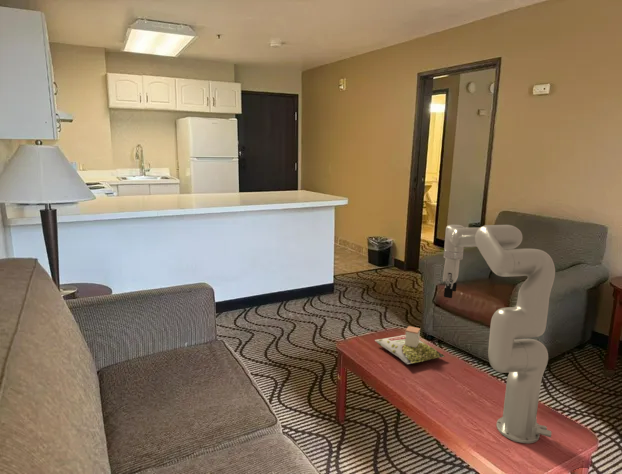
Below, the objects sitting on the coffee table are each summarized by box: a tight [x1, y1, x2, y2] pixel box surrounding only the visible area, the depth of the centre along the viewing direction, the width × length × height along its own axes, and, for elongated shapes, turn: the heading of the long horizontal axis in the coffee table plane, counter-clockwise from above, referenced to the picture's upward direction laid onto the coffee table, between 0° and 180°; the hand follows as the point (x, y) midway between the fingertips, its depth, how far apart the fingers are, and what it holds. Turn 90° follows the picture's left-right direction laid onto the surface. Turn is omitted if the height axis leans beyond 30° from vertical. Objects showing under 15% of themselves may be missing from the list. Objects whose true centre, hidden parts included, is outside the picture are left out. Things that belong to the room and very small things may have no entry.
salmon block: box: [405, 325, 421, 347], centre depth 186 cm, size 5×5×7 cm
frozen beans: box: [374, 334, 446, 365], centre depth 189 cm, size 21×6×25 cm
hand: (450, 293), depth 178 cm, fingers open, 9 cm apart
